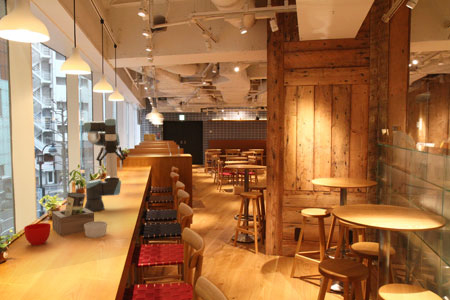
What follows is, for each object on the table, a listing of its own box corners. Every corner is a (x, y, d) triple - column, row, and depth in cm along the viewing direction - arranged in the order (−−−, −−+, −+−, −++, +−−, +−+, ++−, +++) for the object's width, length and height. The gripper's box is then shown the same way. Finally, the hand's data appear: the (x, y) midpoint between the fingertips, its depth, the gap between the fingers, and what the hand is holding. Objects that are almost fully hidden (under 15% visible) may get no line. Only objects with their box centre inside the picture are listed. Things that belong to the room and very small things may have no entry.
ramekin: (105, 238, 207) (105, 226, 206) (81, 239, 205) (81, 227, 204) (109, 231, 220) (108, 220, 219) (86, 232, 218) (86, 221, 217)
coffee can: (83, 214, 230) (87, 194, 228) (78, 219, 220) (82, 198, 218) (67, 212, 229) (70, 191, 227) (61, 217, 218) (65, 195, 217)
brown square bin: (52, 229, 226) (52, 211, 225) (84, 224, 239) (84, 207, 238) (60, 236, 210) (60, 217, 210) (94, 230, 223) (94, 212, 222)
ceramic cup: (56, 237, 208) (55, 220, 207) (46, 246, 191) (46, 228, 191) (32, 238, 206) (31, 221, 205) (20, 248, 189) (20, 229, 189)
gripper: (93, 140, 242) (94, 171, 243) (129, 140, 255) (130, 169, 256) (91, 140, 248) (92, 170, 249) (126, 139, 262) (127, 168, 263)
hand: (111, 169), depth 253 cm, fingers open, 13 cm apart
